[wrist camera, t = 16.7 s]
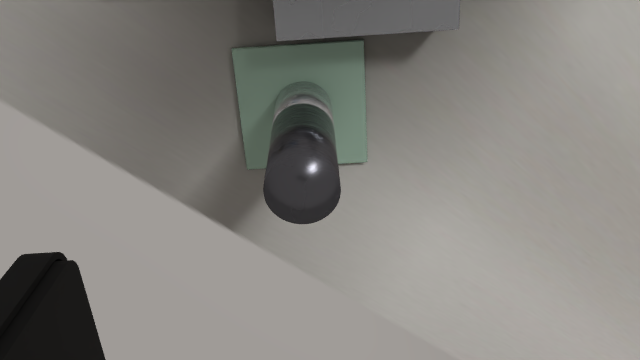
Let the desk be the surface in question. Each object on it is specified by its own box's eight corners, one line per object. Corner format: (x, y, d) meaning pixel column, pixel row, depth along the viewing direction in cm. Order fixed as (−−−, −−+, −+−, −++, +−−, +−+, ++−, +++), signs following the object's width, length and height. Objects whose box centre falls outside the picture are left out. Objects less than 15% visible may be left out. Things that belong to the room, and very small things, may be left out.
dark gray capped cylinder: (333, 132, 38) (342, 221, 28) (278, 137, 38) (268, 226, 28) (330, 79, 36) (338, 153, 27) (272, 83, 36) (258, 159, 27)
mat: (363, 39, 36) (363, 41, 35) (366, 159, 39) (367, 161, 39) (232, 48, 36) (231, 49, 36) (247, 167, 39) (246, 169, 39)
